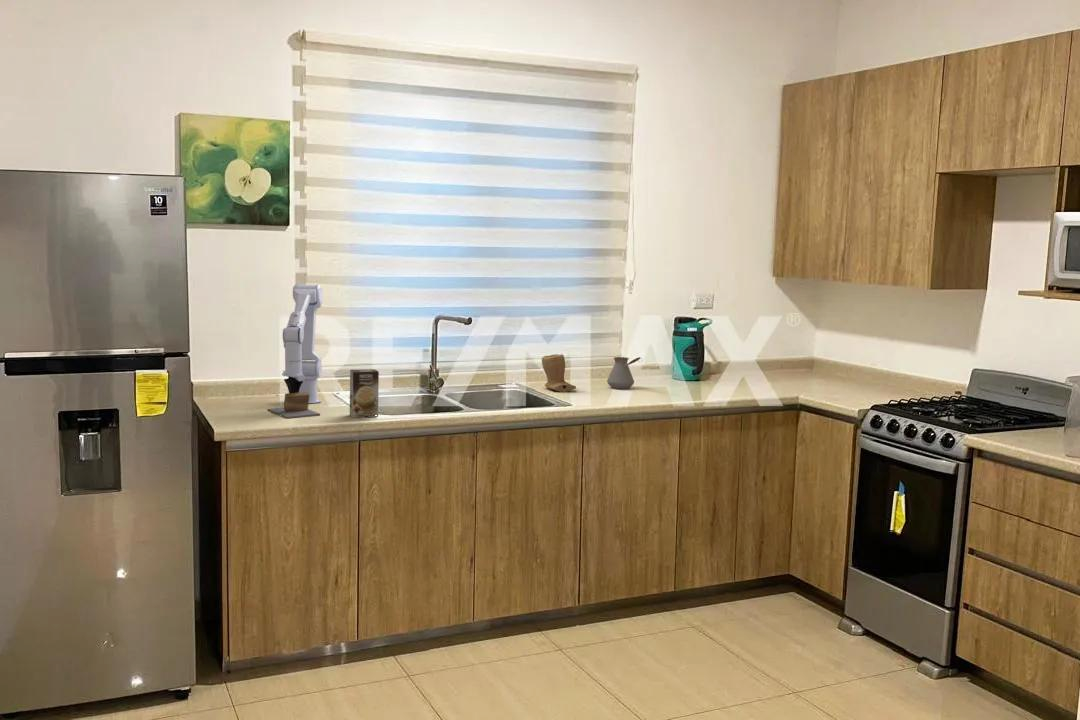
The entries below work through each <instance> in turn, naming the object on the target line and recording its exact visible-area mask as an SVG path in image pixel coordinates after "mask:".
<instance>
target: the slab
mask: <svg viewBox="0 0 1080 720" xmlns="http://www.w3.org/2000/svg"><path fill="white" fill-rule="evenodd" d="M308 402H309V394H308V393H307V392H299V393H289V392H288V393H284V403H283V407H284V410H285V411H286V412H293V411H303V410H308V409H309V404H308Z"/></svg>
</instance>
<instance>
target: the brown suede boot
mask: <svg viewBox="0 0 1080 720" xmlns="http://www.w3.org/2000/svg"><path fill="white" fill-rule="evenodd" d="M541 365H542V369H543V371H544V373H545V377H546V378H547V382H545V384H544V387H545V388H548V389H551V390H554V391H557V392H561V393H566V392H567V393H568V392H570V391H573V390H576V389H577V387H576V385H574V384H571V383H569V382H566V381H565V372H566V359H565V356H564V354H563V353H561V354H557V353H556V354H550V355H544V356H542V357H541Z"/></svg>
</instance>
